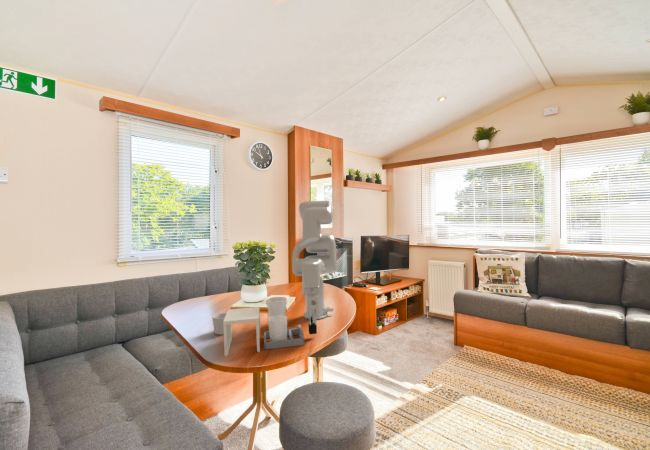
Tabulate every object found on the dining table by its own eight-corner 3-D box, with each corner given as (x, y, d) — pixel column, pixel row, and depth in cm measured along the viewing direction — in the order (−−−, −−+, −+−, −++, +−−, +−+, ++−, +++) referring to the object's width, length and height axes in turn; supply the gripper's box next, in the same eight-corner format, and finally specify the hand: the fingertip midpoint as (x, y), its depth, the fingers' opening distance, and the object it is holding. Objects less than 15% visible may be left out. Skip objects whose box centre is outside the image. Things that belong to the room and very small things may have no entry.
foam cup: (285, 321, 151) (284, 295, 151) (289, 328, 143) (288, 300, 142) (266, 324, 148) (265, 298, 148) (269, 331, 139) (268, 302, 139)
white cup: (284, 346, 122) (283, 321, 122) (265, 345, 124) (264, 321, 123) (290, 338, 130) (289, 315, 130) (273, 337, 131) (272, 314, 131)
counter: (260, 336, 133) (259, 306, 133) (259, 352, 117) (258, 318, 117) (229, 339, 130) (228, 309, 130) (224, 356, 115) (223, 321, 115)
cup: (217, 328, 146) (216, 311, 145) (234, 327, 146) (233, 310, 146) (210, 336, 135) (210, 318, 135) (229, 335, 135) (228, 317, 135)
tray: (300, 333, 135) (300, 324, 135) (304, 344, 122) (303, 335, 122) (264, 337, 132) (263, 328, 132) (264, 349, 119) (263, 339, 119)
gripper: (323, 294, 122) (324, 339, 123) (316, 286, 137) (318, 326, 137) (304, 295, 121) (306, 341, 121) (300, 287, 136) (301, 328, 136)
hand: (312, 333), depth 129 cm, fingers closed
